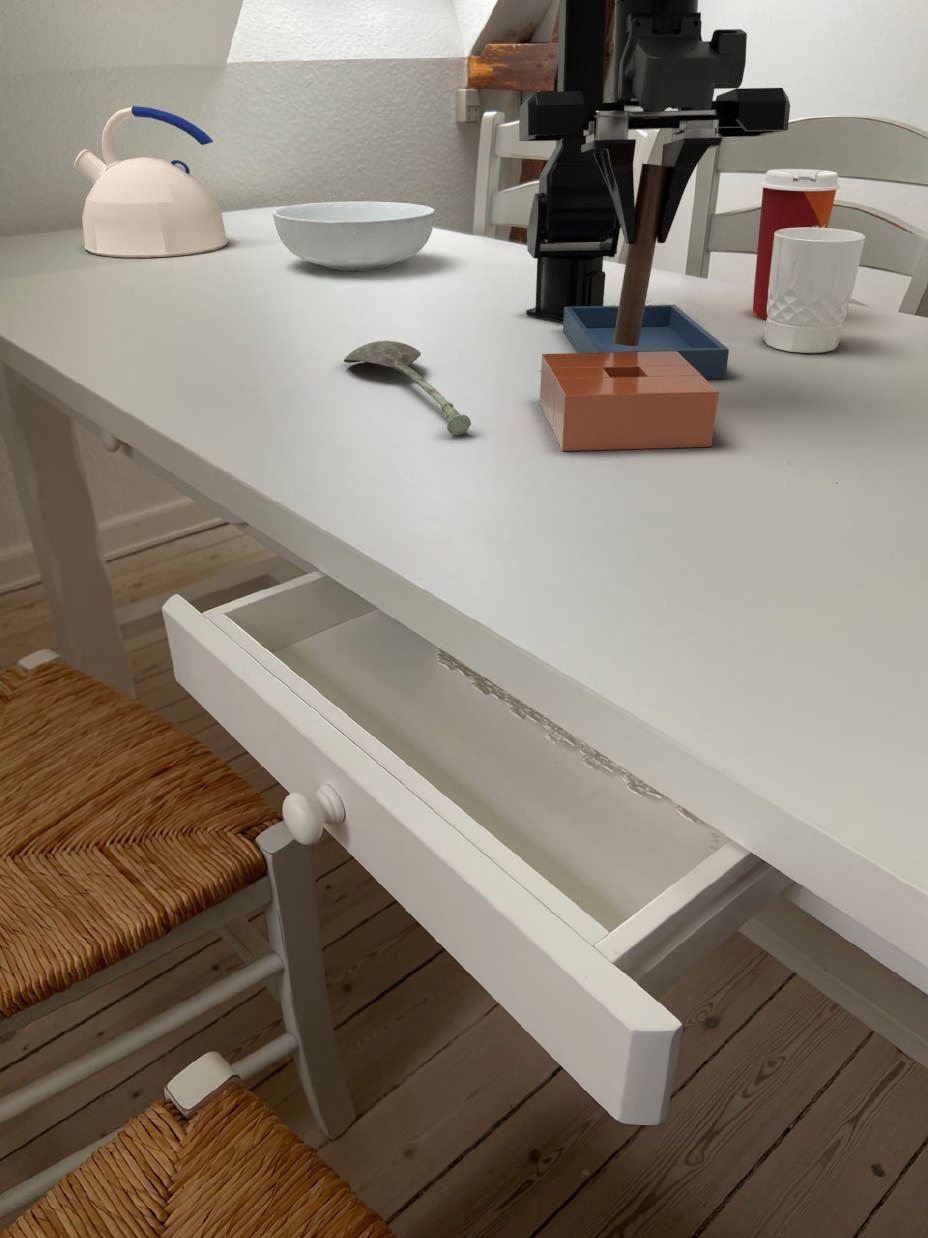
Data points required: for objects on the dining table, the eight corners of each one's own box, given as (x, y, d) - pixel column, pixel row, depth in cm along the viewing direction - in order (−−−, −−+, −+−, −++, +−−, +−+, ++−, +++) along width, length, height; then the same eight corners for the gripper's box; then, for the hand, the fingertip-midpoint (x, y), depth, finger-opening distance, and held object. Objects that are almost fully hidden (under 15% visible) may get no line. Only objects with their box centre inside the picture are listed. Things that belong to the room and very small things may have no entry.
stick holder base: (539, 403, 77) (541, 353, 75) (671, 400, 78) (677, 350, 76) (562, 451, 68) (565, 395, 66) (711, 447, 68) (719, 391, 66)
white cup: (844, 338, 95) (865, 229, 90) (843, 358, 88) (866, 242, 83) (761, 331, 97) (777, 225, 92) (754, 351, 91) (771, 238, 86)
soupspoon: (407, 364, 89) (338, 374, 87) (403, 326, 88) (333, 337, 86) (500, 429, 71) (416, 444, 69) (498, 384, 69) (412, 398, 68)
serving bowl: (465, 260, 131) (465, 205, 128) (372, 287, 116) (369, 226, 112) (344, 246, 141) (341, 195, 137) (243, 269, 125) (237, 212, 122)
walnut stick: (608, 341, 77) (636, 162, 72) (622, 340, 79) (651, 164, 73) (628, 346, 76) (659, 164, 70) (642, 345, 77) (674, 166, 72)
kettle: (120, 233, 151) (98, 102, 142) (248, 236, 149) (234, 103, 140) (55, 256, 134) (26, 108, 125) (199, 259, 131) (179, 109, 122)
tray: (562, 331, 97) (564, 306, 96) (672, 329, 98) (675, 304, 97) (596, 381, 82) (598, 351, 81) (725, 378, 83) (729, 349, 82)
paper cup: (820, 325, 99) (847, 176, 92) (743, 322, 101) (764, 174, 94) (812, 308, 106) (837, 168, 99) (740, 305, 107) (759, 167, 100)
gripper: (540, -22, 60) (538, 249, 66) (835, -25, 61) (807, 242, 67) (518, 14, 70) (518, 245, 76) (770, 11, 71) (751, 239, 77)
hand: (645, 243), depth 74 cm, fingers closed on walnut stick, 2 cm apart
